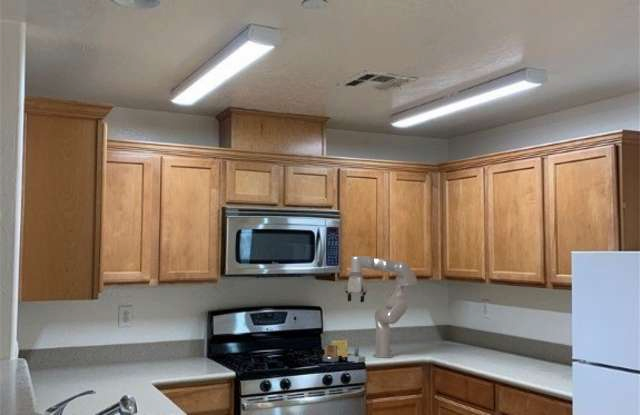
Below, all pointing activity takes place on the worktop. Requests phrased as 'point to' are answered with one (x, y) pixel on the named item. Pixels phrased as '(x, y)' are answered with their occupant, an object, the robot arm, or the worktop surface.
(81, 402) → the worktop surface
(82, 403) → the worktop surface
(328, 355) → the brown box
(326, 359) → the hub
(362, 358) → the stand
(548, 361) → the worktop surface
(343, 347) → the cheese
